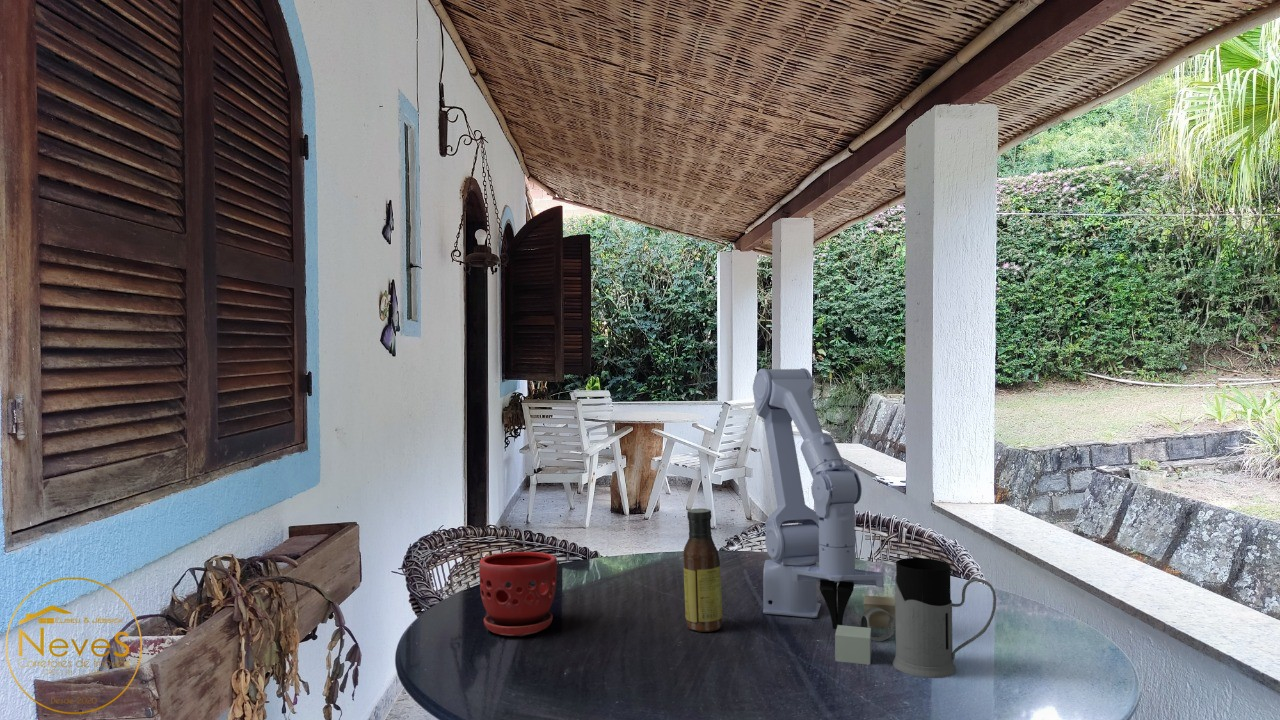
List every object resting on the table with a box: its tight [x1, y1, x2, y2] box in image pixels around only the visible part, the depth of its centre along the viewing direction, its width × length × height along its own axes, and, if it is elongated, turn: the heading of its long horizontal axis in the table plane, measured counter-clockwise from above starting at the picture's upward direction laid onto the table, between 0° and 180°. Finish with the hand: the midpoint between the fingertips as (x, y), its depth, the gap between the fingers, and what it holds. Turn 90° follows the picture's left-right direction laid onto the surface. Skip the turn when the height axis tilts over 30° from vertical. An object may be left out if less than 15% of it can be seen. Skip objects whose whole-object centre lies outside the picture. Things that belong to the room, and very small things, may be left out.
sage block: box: [834, 624, 872, 666], centre depth 121 cm, size 5×5×4 cm
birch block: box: [863, 595, 896, 629], centre depth 137 cm, size 5×5×4 cm
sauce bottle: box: [682, 507, 723, 633], centre depth 136 cm, size 7×6×20 cm
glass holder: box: [892, 557, 997, 679], centre depth 116 cm, size 9×14×15 cm, turn 60°
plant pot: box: [478, 551, 558, 638], centre depth 136 cm, size 13×13×12 cm
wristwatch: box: [860, 608, 896, 642], centre depth 129 cm, size 3×5×5 cm, turn 98°
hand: (837, 627), depth 131 cm, fingers closed
